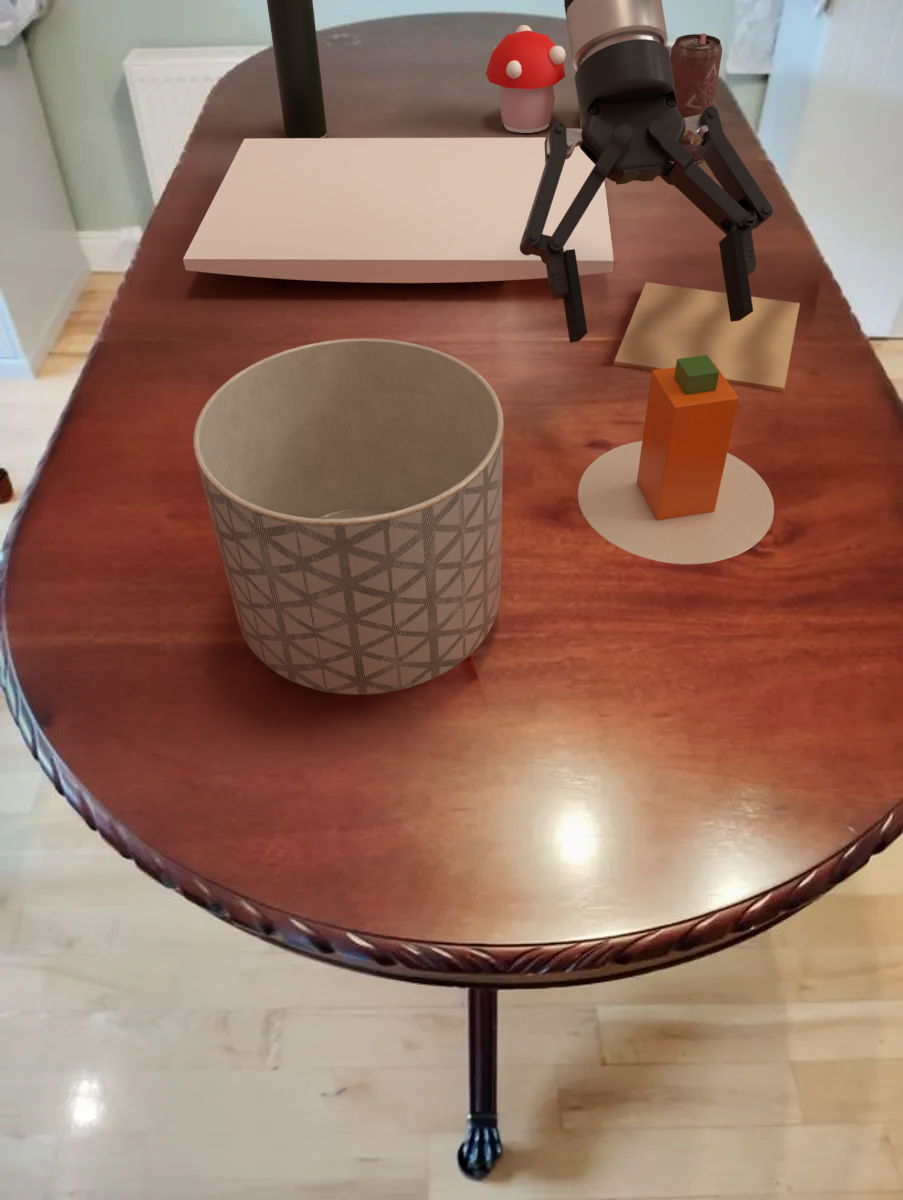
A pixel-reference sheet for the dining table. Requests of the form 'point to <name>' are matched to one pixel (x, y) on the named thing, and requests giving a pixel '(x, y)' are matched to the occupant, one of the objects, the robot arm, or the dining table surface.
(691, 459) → the carrot block
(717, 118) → the robot arm
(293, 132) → the wine bottle
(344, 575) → the planter
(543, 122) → the mushroom
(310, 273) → the board
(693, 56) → the can
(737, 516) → the plate
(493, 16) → the dining table surface
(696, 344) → the coaster
